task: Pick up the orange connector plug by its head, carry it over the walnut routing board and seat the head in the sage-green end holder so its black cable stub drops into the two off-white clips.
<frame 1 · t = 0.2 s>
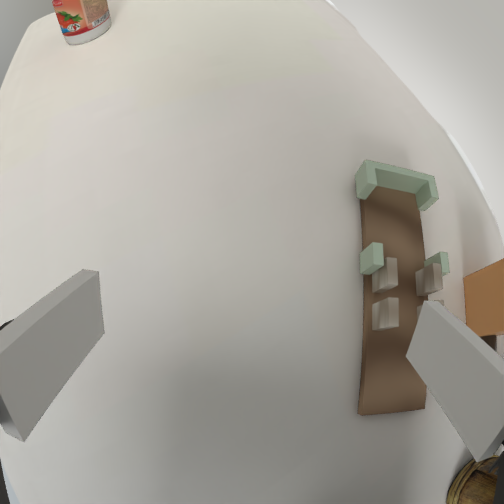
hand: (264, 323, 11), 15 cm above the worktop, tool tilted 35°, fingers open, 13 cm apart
end holder: (395, 230, 30), resting on route board
wooden mug: (469, 473, 22), on the worktop
route board: (394, 289, 28), on the worktop
fruit juice: (88, 33, 41), on the worktop
plug: (480, 337, 27), on the worktop
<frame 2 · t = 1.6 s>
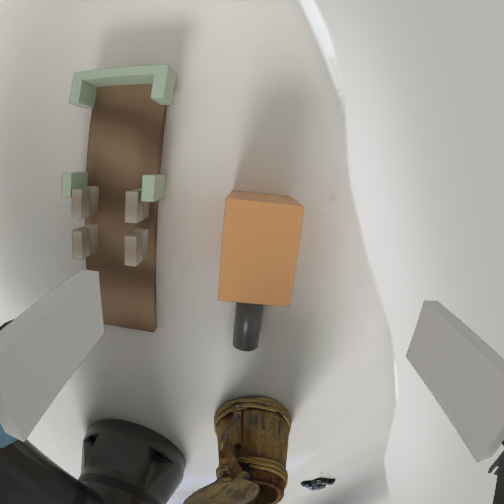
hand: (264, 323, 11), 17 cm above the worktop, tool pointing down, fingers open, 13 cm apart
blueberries: (319, 478, 38), on the worktop
end holder: (122, 138, 24), resting on route board
wooden mug: (246, 408, 33), on the worktop
route board: (122, 204, 27), on the worktop
plug: (252, 271, 28), on the worktop
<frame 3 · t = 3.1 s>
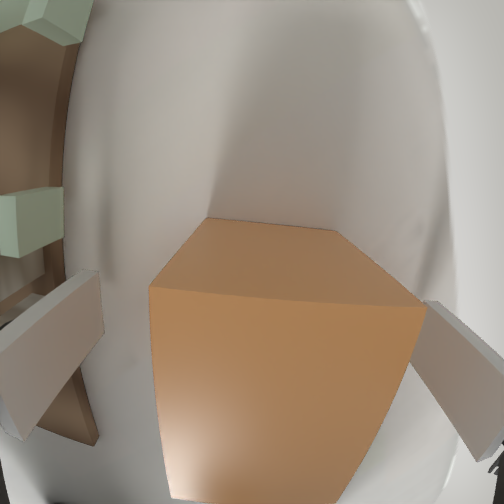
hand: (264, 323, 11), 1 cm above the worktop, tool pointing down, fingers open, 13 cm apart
route board: (11, 245, 12), on the worktop
plug: (253, 375, 14), on the worktop
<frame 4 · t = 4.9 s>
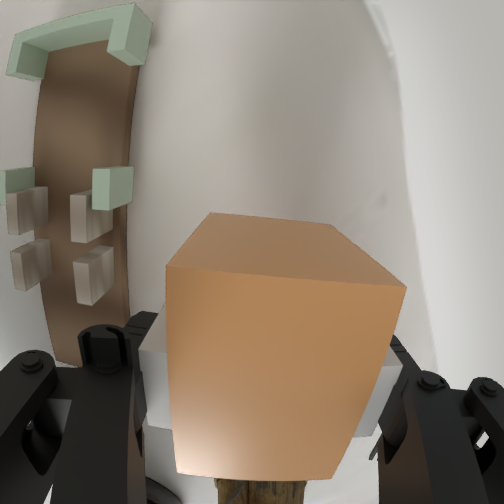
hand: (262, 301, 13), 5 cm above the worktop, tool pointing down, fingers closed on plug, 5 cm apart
end holder: (76, 117, 15), resting on route board
wooden mug: (253, 460, 25), on the worktop
route board: (79, 211, 18), on the worktop
plug: (253, 361, 15), point 5 cm above the worktop, touching gripper
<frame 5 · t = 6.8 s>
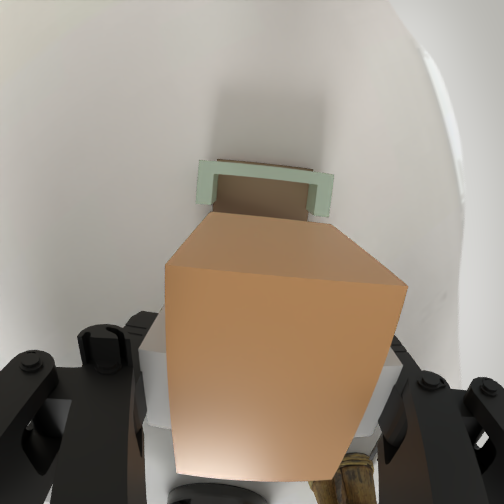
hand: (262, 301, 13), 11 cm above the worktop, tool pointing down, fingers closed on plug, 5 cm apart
end holder: (257, 244, 23), resting on route board
wooden mug: (337, 462, 32), on the worktop
route board: (249, 310, 26), on the worktop
plug: (253, 361, 15), point 11 cm above the worktop, touching gripper
when the fingers open (2 cm above the worktop, at t = 9.1 s): plug stays where it is, resting on route board.
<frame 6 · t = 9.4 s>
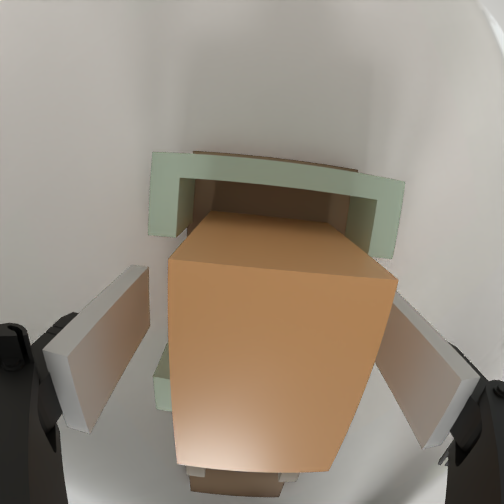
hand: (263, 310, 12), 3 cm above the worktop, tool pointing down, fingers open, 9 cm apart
end holder: (262, 294, 14), resting on route board
route board: (249, 383, 17), on the worktop
plug: (253, 357, 15), point 1 cm above the worktop, touching route board
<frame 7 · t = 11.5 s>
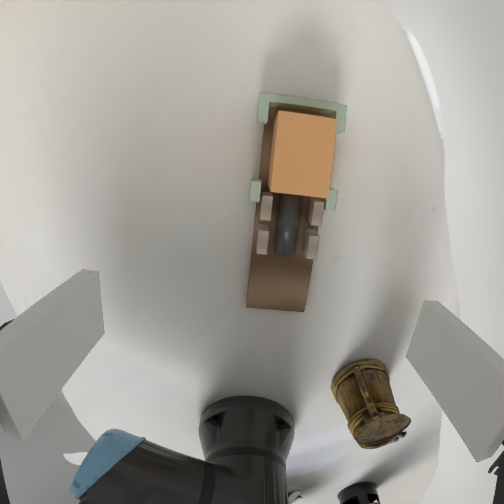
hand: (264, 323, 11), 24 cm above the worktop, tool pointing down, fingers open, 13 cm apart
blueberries: (393, 432, 47), on the worktop
end holder: (294, 155, 32), resting on route board
wooden mug: (356, 370, 41), on the worktop
route board: (287, 208, 34), on the worktop
french press: (357, 489, 53), on the worktop
plug: (291, 187, 33), point 1 cm above the worktop, touching route board
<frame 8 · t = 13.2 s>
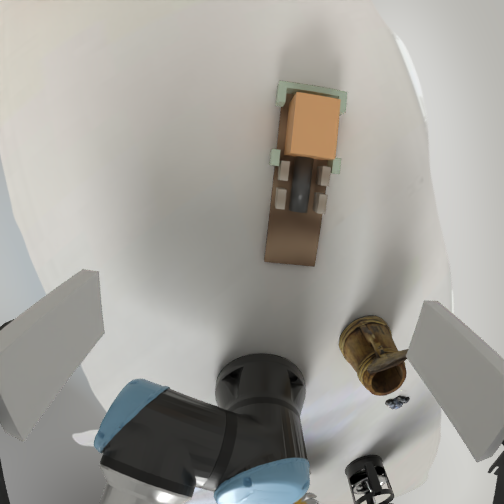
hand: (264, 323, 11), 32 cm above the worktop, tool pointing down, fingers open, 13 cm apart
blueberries: (397, 398, 52), on the worktop
end holder: (305, 132, 38), resting on route board
wooden mug: (361, 327, 47), on the worktop
route board: (299, 176, 41), on the worktop
flower vase: (272, 485, 60), on the worktop
french press: (363, 464, 58), on the worktop
plug: (302, 157, 39), point 1 cm above the worktop, touching route board
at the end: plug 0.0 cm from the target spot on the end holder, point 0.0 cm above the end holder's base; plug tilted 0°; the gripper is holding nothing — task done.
